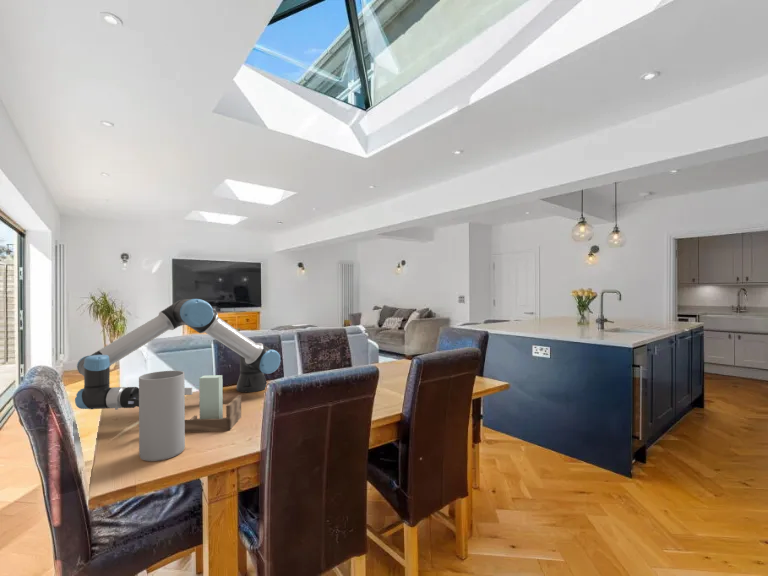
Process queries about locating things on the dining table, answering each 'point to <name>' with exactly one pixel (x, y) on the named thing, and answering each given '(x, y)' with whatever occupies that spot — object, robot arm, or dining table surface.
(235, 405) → the tray
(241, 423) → the dining table surface
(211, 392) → the pale green block
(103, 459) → the dining table surface
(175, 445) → the cylinder vase
